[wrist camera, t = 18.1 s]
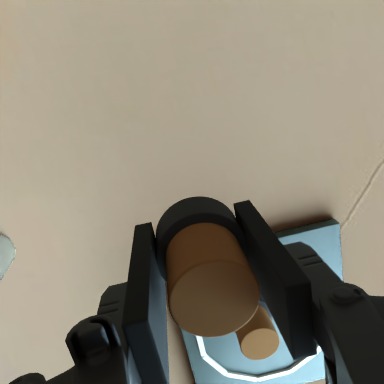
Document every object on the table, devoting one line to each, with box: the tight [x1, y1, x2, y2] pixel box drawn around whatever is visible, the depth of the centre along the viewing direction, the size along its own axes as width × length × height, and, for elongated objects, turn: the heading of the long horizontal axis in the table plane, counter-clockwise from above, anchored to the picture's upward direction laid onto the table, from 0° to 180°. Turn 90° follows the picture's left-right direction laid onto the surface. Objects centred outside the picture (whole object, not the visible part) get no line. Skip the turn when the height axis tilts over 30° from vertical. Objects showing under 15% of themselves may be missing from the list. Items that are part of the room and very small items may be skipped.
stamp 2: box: [234, 292, 280, 360], centre depth 29 cm, size 4×4×5 cm
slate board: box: [180, 219, 343, 384], centre depth 32 cm, size 16×18×1 cm
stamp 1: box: [156, 197, 260, 337], centre depth 14 cm, size 4×4×5 cm
